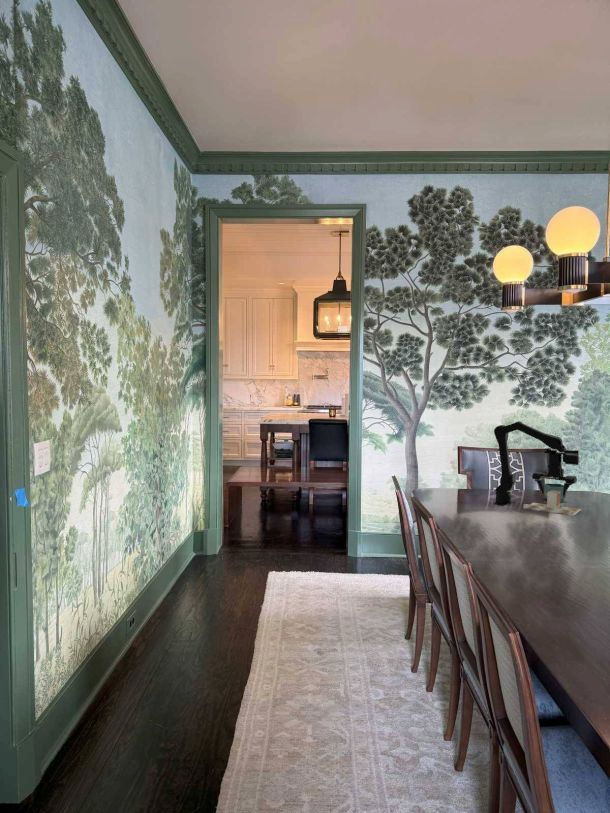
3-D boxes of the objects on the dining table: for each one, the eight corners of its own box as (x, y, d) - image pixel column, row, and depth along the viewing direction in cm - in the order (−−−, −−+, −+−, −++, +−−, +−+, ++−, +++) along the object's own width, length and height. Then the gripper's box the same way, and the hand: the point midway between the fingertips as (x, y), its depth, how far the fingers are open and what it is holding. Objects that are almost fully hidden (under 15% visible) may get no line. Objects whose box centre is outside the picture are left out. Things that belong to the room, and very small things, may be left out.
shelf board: (523, 510, 261) (523, 504, 260) (533, 504, 273) (533, 498, 273) (573, 518, 247) (573, 511, 247) (581, 511, 259) (581, 505, 259)
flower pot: (567, 504, 273) (568, 486, 273) (549, 504, 274) (550, 486, 273) (559, 500, 282) (560, 483, 282) (542, 500, 282) (542, 483, 282)
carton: (546, 508, 260) (547, 492, 259) (551, 506, 265) (551, 489, 265) (556, 510, 257) (557, 493, 257) (560, 507, 263) (560, 491, 262)
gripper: (580, 463, 261) (578, 495, 262) (539, 459, 272) (538, 490, 273) (574, 466, 252) (573, 499, 253) (532, 461, 264) (531, 493, 265)
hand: (553, 495), depth 261 cm, fingers open, 9 cm apart
